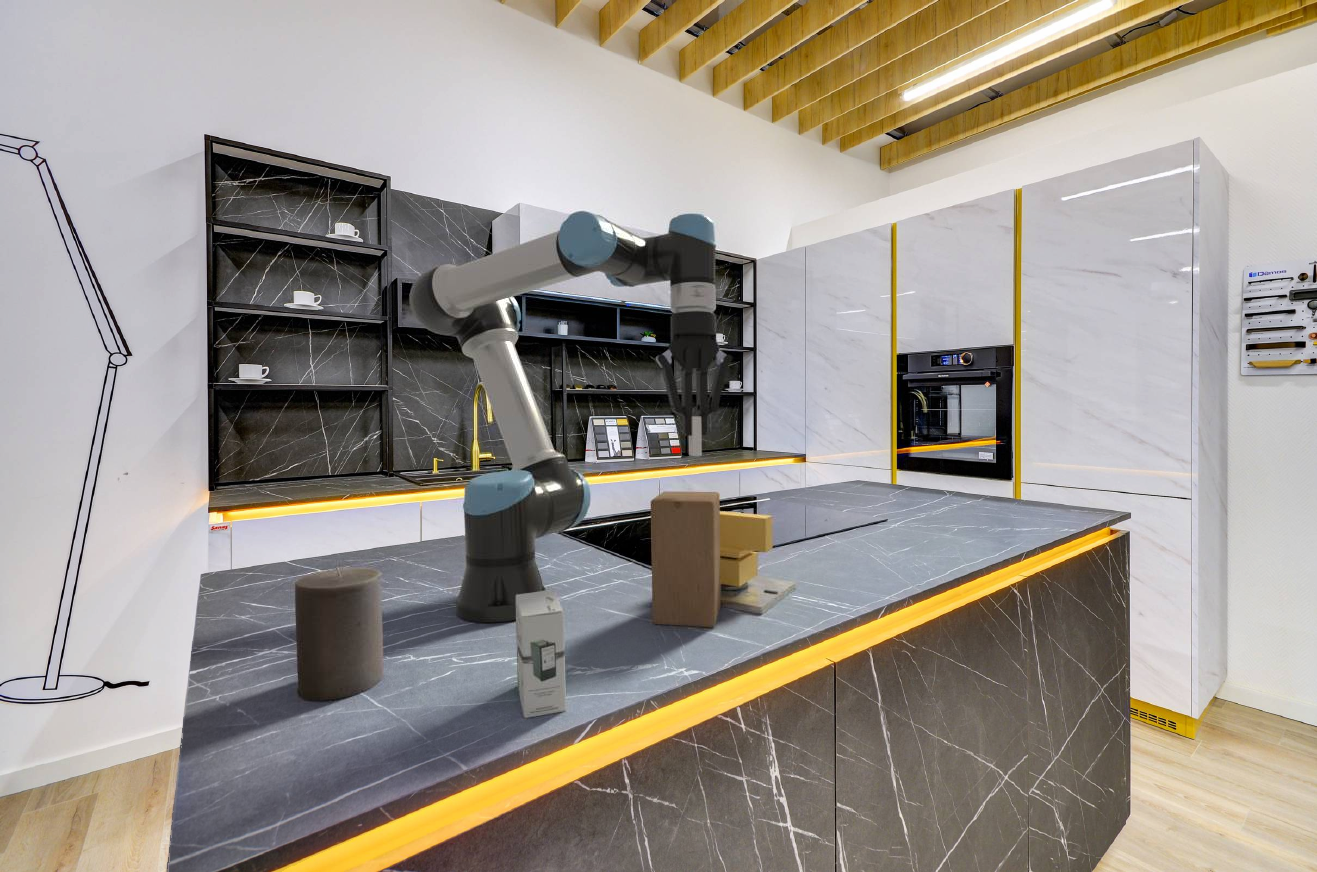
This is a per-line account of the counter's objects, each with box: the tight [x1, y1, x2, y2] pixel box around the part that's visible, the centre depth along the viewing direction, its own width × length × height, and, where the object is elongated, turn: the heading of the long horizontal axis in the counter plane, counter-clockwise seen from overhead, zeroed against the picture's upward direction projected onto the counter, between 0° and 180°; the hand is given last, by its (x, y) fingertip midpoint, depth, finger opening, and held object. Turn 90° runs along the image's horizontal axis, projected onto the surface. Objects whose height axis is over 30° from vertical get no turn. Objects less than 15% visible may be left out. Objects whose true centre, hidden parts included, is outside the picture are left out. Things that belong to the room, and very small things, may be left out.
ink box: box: [515, 589, 567, 719], centre depth 68 cm, size 9×5×12 cm, turn 19°
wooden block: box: [650, 490, 722, 628], centre depth 95 cm, size 10×10×20 cm
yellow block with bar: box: [720, 510, 773, 587], centre depth 107 cm, size 11×16×12 cm
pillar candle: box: [294, 566, 384, 702], centre depth 73 cm, size 10×10×15 cm
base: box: [720, 556, 797, 615], centre depth 107 cm, size 20×16×10 cm
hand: (695, 455), depth 96 cm, fingers closed
